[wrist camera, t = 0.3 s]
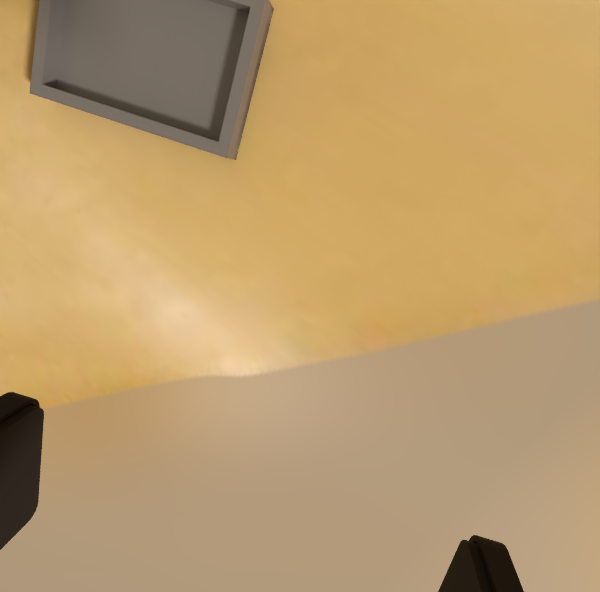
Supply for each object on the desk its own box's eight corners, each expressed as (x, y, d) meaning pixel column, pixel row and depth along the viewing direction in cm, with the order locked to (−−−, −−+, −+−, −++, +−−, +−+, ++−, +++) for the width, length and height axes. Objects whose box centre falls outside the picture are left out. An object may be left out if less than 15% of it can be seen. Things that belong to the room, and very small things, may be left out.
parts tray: (68, -54, 35) (46, -71, 32) (273, 9, 34) (266, -5, 31) (50, 98, 38) (29, 93, 36) (235, 159, 37) (226, 158, 35)
